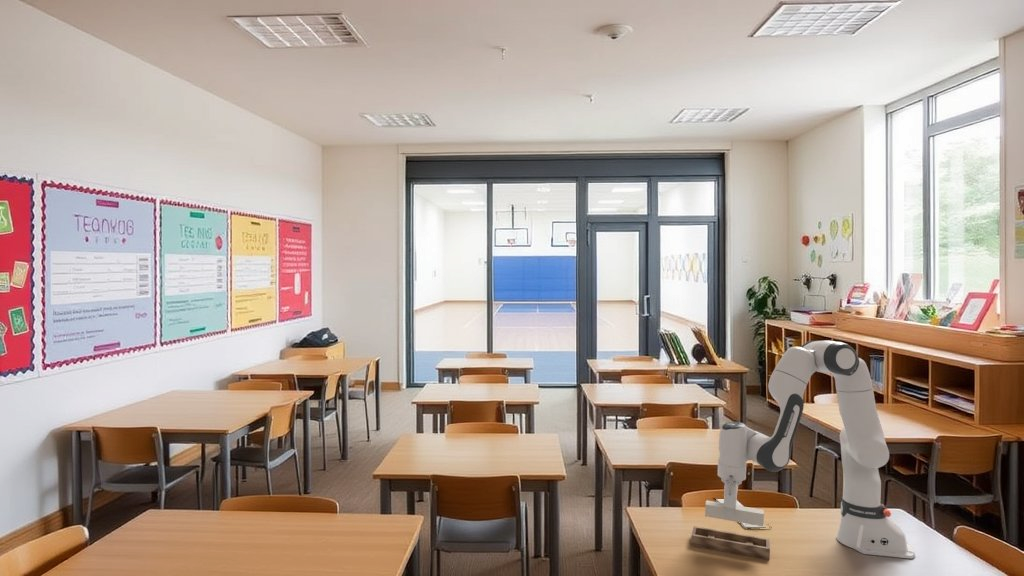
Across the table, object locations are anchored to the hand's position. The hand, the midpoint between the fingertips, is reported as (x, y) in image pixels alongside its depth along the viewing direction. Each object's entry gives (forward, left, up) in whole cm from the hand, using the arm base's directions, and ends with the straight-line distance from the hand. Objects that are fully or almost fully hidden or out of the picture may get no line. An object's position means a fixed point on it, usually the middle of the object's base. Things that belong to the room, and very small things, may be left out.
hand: (730, 513), depth 196 cm
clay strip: (-1, 0, -2) cm, 2 cm away
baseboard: (-3, -34, -12) cm, 36 cm away
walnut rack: (0, 0, -12) cm, 12 cm away
